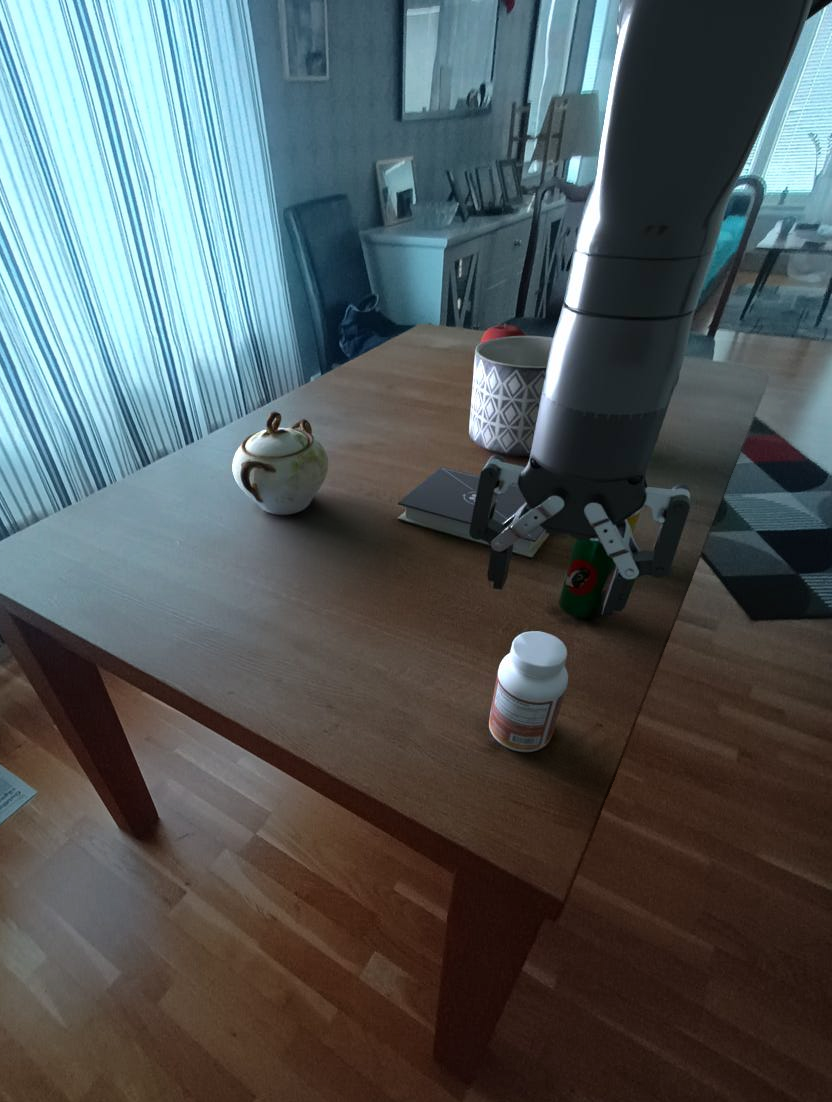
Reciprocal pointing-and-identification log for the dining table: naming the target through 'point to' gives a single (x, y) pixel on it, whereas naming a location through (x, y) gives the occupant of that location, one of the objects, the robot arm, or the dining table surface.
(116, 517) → the dining table surface
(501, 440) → the planter
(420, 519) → the book
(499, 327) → the apple
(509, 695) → the pill bottle
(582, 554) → the soda can
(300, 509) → the sugar bowl
